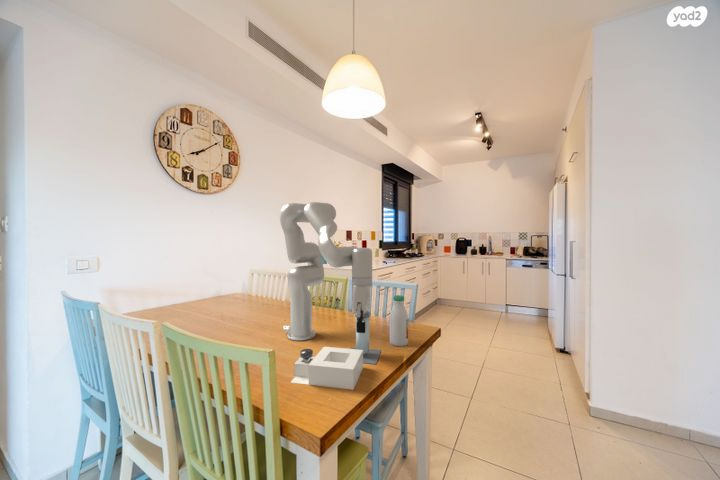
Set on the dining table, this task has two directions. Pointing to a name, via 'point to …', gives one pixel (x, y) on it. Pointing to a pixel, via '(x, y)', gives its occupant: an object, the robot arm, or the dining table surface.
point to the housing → (330, 368)
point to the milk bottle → (398, 322)
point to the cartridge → (363, 335)
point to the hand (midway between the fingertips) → (362, 329)
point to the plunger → (306, 354)
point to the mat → (370, 356)
